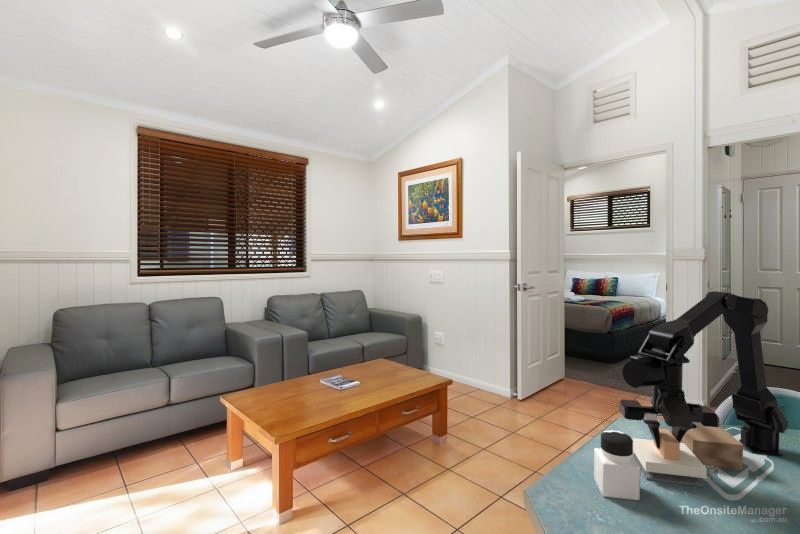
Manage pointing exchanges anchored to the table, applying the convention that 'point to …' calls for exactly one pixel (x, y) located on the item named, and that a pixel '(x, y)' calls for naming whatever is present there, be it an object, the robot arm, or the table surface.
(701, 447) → the walnut box
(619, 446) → the medicine bottle
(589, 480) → the table surface
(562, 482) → the table surface
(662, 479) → the rubber mat
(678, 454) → the lid
